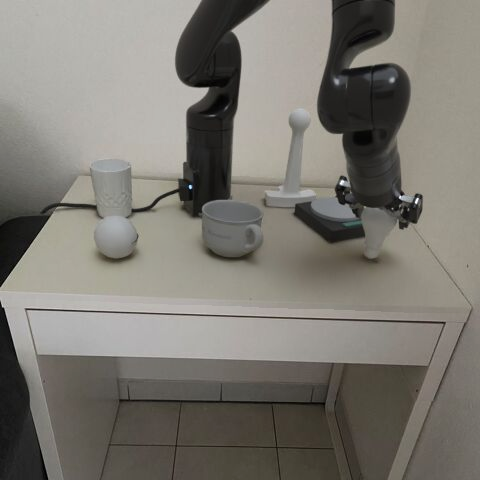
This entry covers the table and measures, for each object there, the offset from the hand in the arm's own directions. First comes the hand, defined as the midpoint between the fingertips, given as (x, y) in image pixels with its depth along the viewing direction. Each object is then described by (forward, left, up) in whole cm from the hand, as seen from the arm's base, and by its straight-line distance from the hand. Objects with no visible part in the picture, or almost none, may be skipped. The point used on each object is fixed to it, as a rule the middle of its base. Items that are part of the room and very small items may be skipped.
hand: (381, 218), depth 88 cm
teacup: (-24, +9, -8) cm, 27 cm away
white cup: (-40, +33, -8) cm, 53 cm away
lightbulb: (-1, -1, -8) cm, 8 cm away
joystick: (-2, +28, -8) cm, 29 cm away
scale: (+2, +14, -7) cm, 16 cm away
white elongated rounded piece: (-43, +16, -8) cm, 47 cm away
